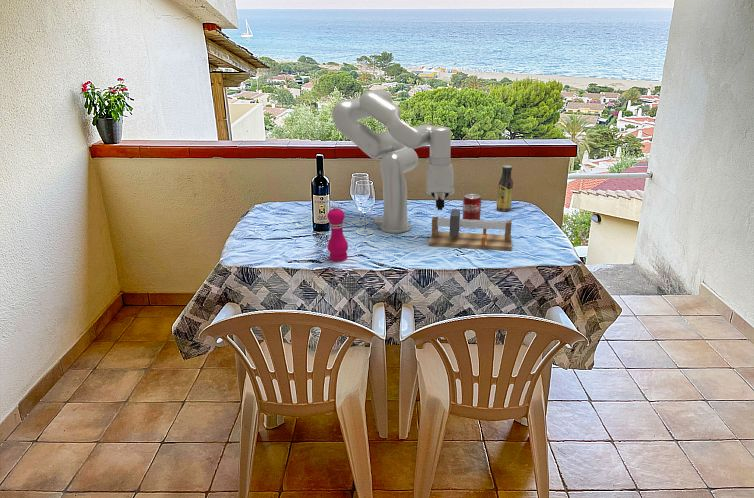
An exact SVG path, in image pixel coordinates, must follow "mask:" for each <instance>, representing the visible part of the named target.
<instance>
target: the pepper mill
mask: <svg viewBox="0 0 754 498" xmlns="http://www.w3.org/2000/svg"><path fill="white" fill-rule="evenodd" d="M345 217H346V216H345V213H344V210H342V209H341V208H339V206H338V204H334V205H333V206H332V209H330V210H329V211H328V213H327V220H328V221H329V228H330V231H331V233H330V237H329V240H328V243H327V251H328V252H329V260H330V259H331V260H330V261H332V260H333V262H335V261H340V262H343V260H344V261H346V260H347V259H348V253H347V251H348V250H349V244H348V240H346V237H345V235H344V229H343V227H344V226H345V225H344V220H345ZM345 259H346V260H345Z"/></svg>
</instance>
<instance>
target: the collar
mask: <svg viewBox="0 0 754 498" xmlns="http://www.w3.org/2000/svg"><path fill="white" fill-rule="evenodd" d="M449 219H450V227H449V232H450V236H452V237H458V234H459V233H460V228H461V227H459V219H461V209H456V208H455V209H451V211H450V215H449Z"/></svg>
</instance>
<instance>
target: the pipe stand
mask: <svg viewBox="0 0 754 498" xmlns="http://www.w3.org/2000/svg"><path fill="white" fill-rule="evenodd" d="M438 218H439V216H433V217H432V219H431V235H430V238H429V240H428V246H429V247H442V248H443V247H444V248H457V249H458V248H459V249H471V250H472V249H475V250H492V251H508V252H509V251H510V252H512V248H513V247H512V246H513V245H512V242H513V241H512V222H513V221H512V220H509V219H508V220H507V219H506V220H505V221H506V228H505V231H504V234H490V233H487V229H484V228H482V229H483V230H482V233H476V232H475V233H474V232H459V234H458V237H452V236H450V231H440V230H439V226H437V220H438Z"/></svg>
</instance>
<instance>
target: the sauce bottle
mask: <svg viewBox="0 0 754 498" xmlns="http://www.w3.org/2000/svg"><path fill="white" fill-rule="evenodd" d="M512 170H513V166H512V165H509V164H507V165H503V166H502V174H501V178H500V179H499V182H498V184H497V198H496V210H497V211H500V212H509V211H510V210H511V206H512V199H513V189H514V188H513V185H514V181H513V178H512Z"/></svg>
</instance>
